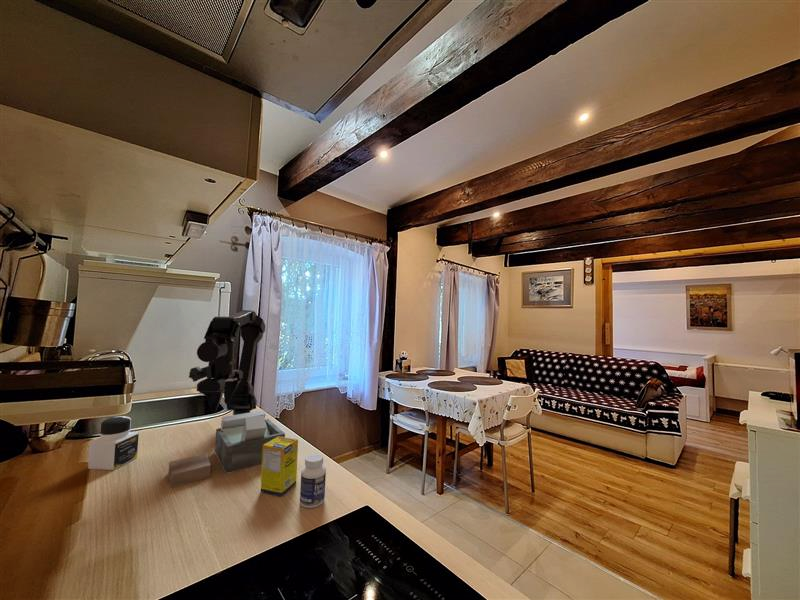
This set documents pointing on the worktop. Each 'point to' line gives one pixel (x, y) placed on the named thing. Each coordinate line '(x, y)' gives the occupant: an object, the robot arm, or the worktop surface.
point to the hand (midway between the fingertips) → (220, 407)
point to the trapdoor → (233, 423)
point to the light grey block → (253, 428)
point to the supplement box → (279, 465)
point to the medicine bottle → (113, 445)
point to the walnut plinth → (189, 470)
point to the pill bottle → (313, 481)
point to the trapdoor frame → (243, 449)
